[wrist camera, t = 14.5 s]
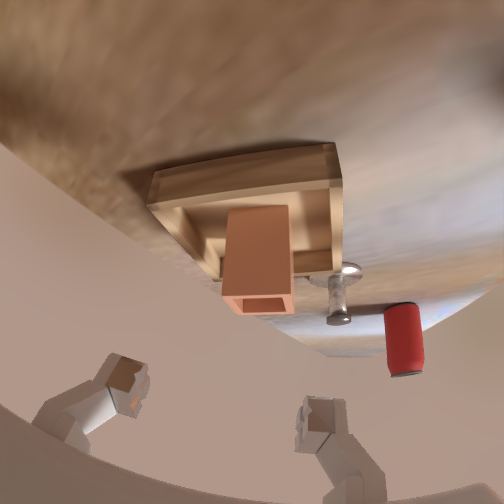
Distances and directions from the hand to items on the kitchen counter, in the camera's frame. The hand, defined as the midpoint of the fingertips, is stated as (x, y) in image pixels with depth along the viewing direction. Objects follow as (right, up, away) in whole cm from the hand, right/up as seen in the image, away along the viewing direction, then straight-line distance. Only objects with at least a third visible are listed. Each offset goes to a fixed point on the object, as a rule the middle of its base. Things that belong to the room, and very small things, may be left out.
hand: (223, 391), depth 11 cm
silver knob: (+11, +3, +25) cm, 28 cm away
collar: (+2, +8, +15) cm, 17 cm away
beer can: (+27, -4, +38) cm, 47 cm away
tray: (+2, +8, +15) cm, 17 cm away
